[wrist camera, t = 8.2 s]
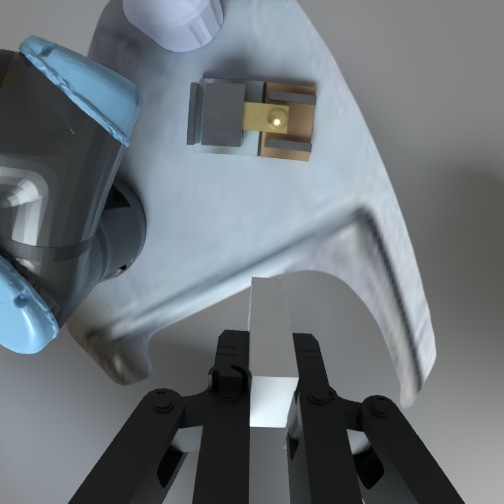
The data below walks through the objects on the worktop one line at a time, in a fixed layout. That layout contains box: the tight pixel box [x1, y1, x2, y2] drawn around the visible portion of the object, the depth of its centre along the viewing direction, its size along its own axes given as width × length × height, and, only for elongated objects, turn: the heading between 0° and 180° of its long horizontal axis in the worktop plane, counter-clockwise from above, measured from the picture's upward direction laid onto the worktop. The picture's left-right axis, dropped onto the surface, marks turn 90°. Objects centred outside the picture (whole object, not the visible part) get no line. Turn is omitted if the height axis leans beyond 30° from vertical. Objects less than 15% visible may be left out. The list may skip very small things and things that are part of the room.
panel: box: [195, 78, 316, 162], centre depth 34 cm, size 13×9×1 cm
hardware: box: [187, 83, 316, 152], centre depth 31 cm, size 13×7×5 cm, turn 85°
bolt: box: [242, 102, 289, 134], centre depth 30 cm, size 7×3×5 cm, turn 85°
